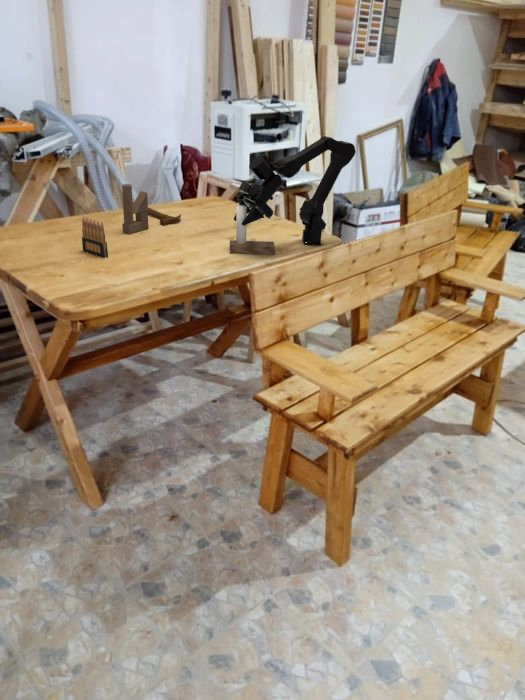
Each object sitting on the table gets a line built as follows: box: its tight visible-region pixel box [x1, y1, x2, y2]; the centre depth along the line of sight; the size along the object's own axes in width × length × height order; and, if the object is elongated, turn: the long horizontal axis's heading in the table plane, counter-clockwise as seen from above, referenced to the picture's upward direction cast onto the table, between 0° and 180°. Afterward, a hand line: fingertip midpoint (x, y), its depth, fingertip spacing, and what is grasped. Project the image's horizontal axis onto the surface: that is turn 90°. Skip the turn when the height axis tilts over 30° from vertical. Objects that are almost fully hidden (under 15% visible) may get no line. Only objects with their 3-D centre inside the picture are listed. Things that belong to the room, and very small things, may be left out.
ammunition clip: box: [81, 216, 109, 259], centre depth 188 cm, size 11×2×12 cm, turn 56°
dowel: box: [235, 204, 248, 244], centre depth 198 cm, size 4×4×13 cm
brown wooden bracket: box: [121, 183, 149, 235], centre depth 213 cm, size 4×11×18 cm, turn 147°
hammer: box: [133, 201, 182, 227], centre depth 238 cm, size 12×3×30 cm
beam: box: [229, 239, 276, 256], centre depth 202 cm, size 16×6×3 cm, turn 94°
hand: (238, 222), depth 197 cm, fingers open, 6 cm apart
